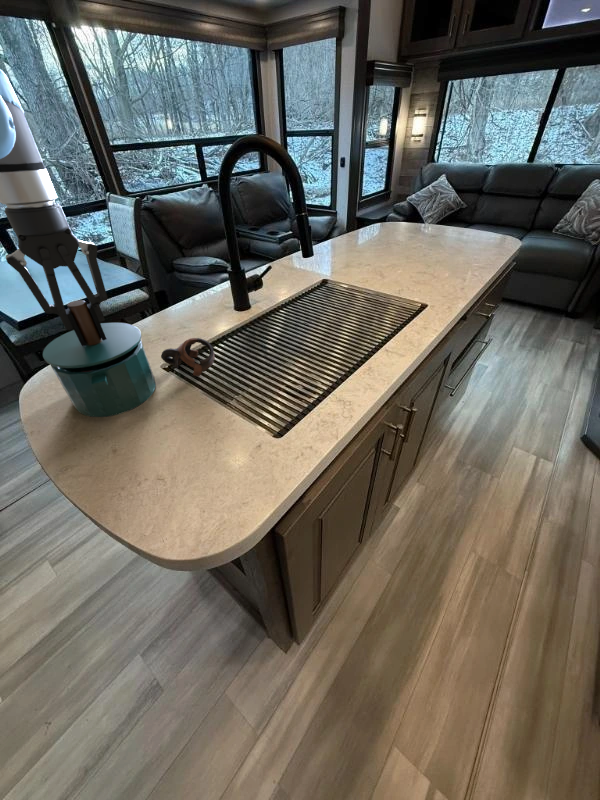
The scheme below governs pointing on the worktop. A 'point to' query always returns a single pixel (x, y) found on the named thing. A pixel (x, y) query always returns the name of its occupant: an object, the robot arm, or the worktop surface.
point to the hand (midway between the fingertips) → (92, 339)
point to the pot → (109, 384)
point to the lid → (90, 341)
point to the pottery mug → (189, 356)
